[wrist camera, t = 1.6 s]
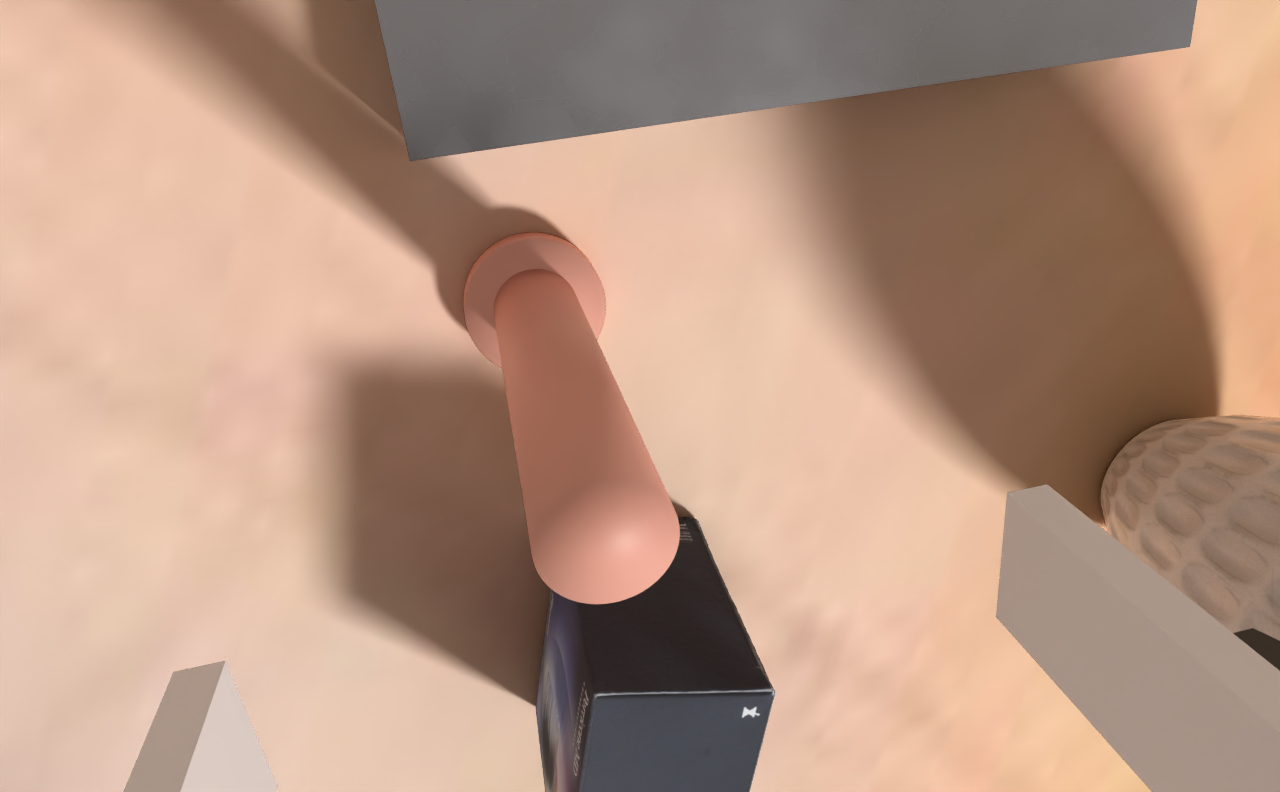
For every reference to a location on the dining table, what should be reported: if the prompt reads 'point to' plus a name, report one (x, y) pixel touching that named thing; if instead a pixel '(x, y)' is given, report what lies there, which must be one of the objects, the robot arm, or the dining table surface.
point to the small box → (653, 686)
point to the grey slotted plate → (718, 56)
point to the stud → (569, 422)
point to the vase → (1205, 513)
